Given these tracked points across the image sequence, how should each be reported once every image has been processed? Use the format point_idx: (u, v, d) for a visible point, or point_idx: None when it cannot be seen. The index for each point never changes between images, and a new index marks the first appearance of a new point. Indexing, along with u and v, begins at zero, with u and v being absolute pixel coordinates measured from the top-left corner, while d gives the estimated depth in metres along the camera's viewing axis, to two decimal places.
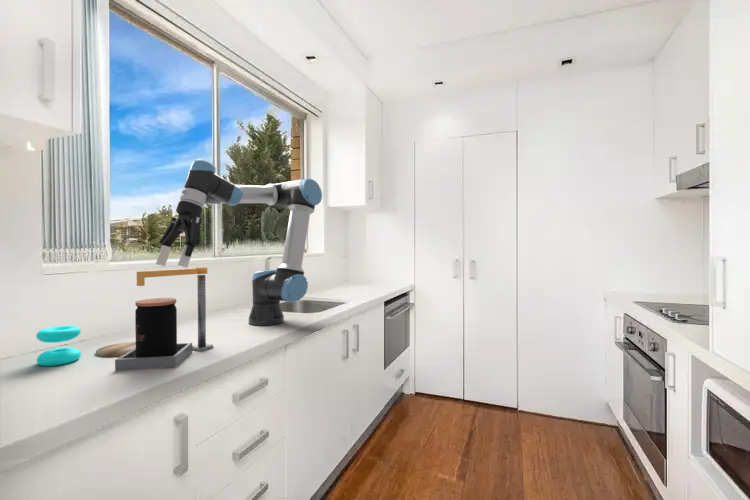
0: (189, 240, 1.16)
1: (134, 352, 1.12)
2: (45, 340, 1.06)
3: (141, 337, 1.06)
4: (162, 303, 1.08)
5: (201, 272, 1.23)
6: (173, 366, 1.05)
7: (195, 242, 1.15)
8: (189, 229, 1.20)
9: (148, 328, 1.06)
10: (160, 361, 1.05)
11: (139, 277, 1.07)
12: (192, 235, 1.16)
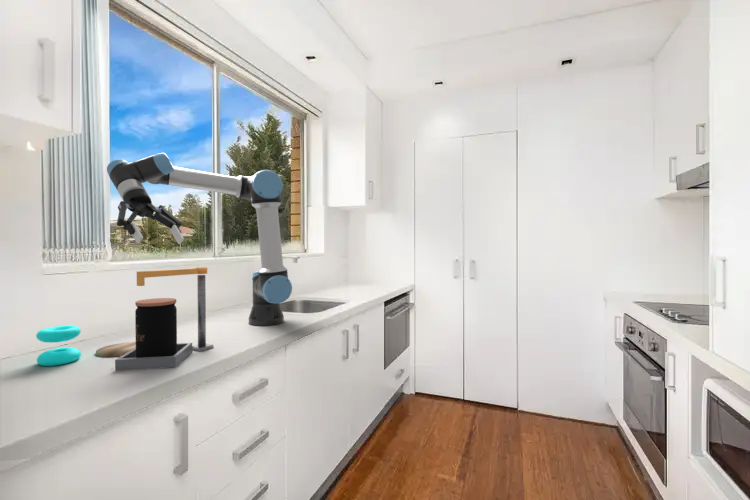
0: None
1: (134, 352, 1.12)
2: (45, 340, 1.06)
3: (141, 337, 1.06)
4: (162, 303, 1.08)
5: (201, 272, 1.23)
6: (173, 366, 1.05)
7: (118, 222, 1.13)
8: None
9: (148, 328, 1.06)
10: (160, 361, 1.05)
11: (139, 277, 1.07)
12: None
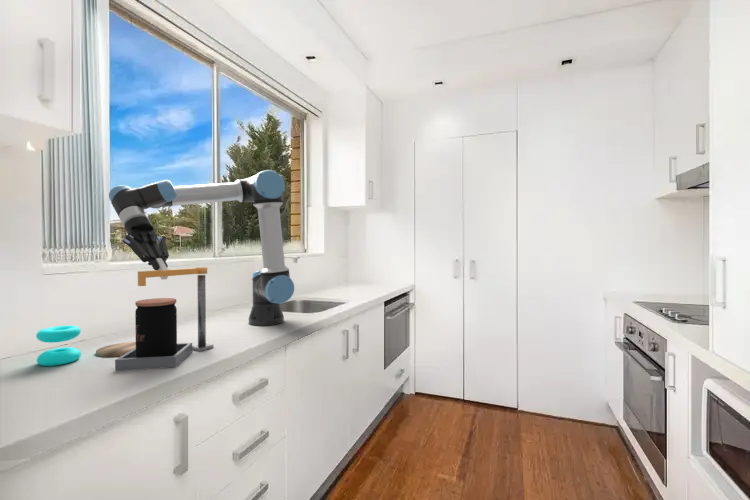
0: None
1: (134, 352, 1.12)
2: (45, 340, 1.06)
3: (141, 337, 1.06)
4: (162, 303, 1.08)
5: (201, 272, 1.23)
6: (173, 366, 1.05)
7: (143, 259, 1.15)
8: (142, 246, 1.19)
9: (148, 328, 1.06)
10: (160, 361, 1.05)
11: (140, 277, 1.07)
12: None
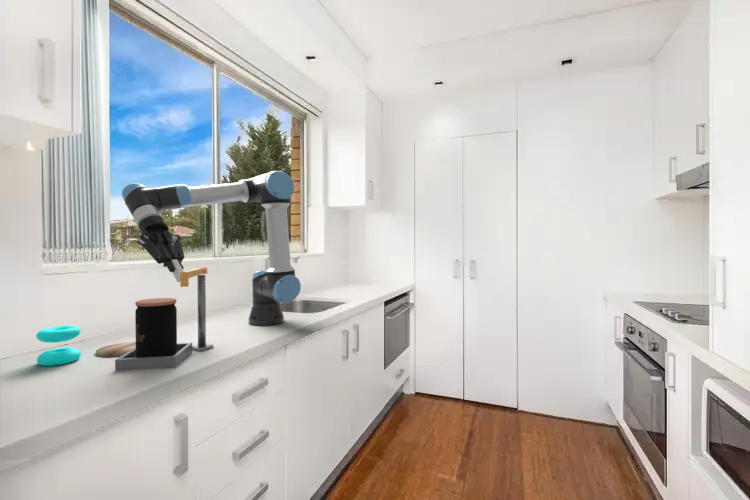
0: None
1: (134, 352, 1.12)
2: (45, 340, 1.06)
3: (141, 337, 1.06)
4: (162, 303, 1.08)
5: (205, 272, 1.24)
6: (173, 366, 1.05)
7: (158, 260, 1.10)
8: (157, 247, 1.14)
9: (148, 328, 1.06)
10: (160, 361, 1.05)
11: (185, 278, 1.05)
12: None
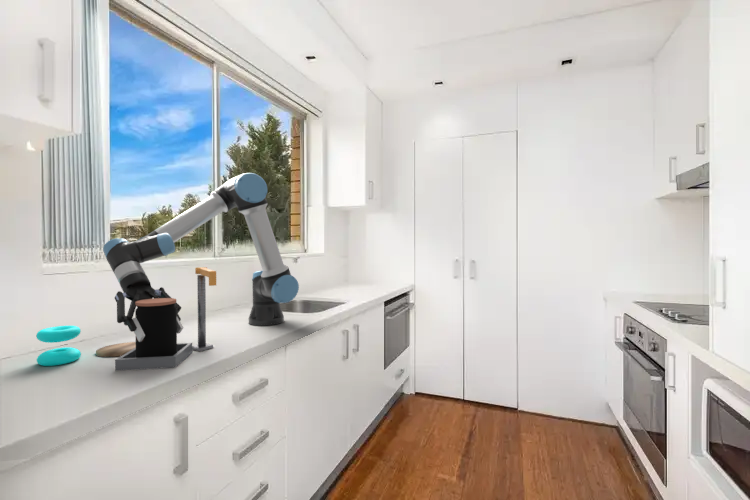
0: None
1: (134, 352, 1.12)
2: (45, 340, 1.06)
3: None
4: (162, 303, 1.08)
5: None
6: (173, 366, 1.05)
7: (118, 319, 1.05)
8: (131, 304, 1.11)
9: (148, 328, 1.06)
10: (160, 361, 1.05)
11: (214, 277, 1.08)
12: None
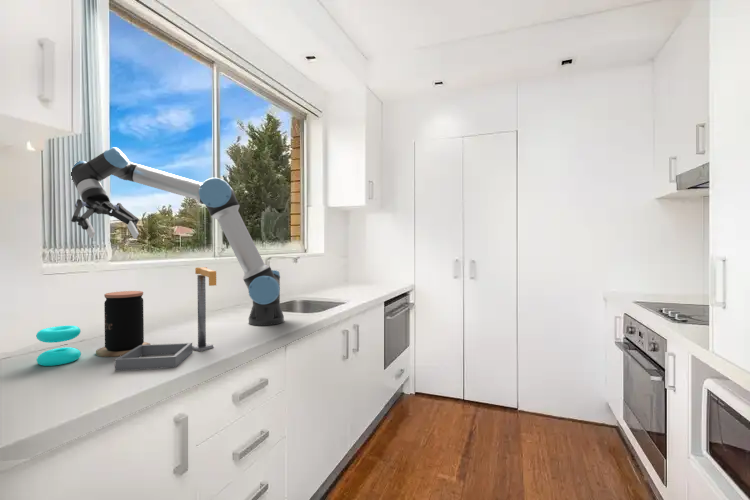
0: None
1: (134, 352, 1.12)
2: (45, 340, 1.06)
3: (109, 325, 1.18)
4: (129, 295, 1.19)
5: None
6: (173, 366, 1.05)
7: (72, 218, 1.22)
8: None
9: (115, 317, 1.18)
10: (160, 361, 1.05)
11: (214, 277, 1.08)
12: None
